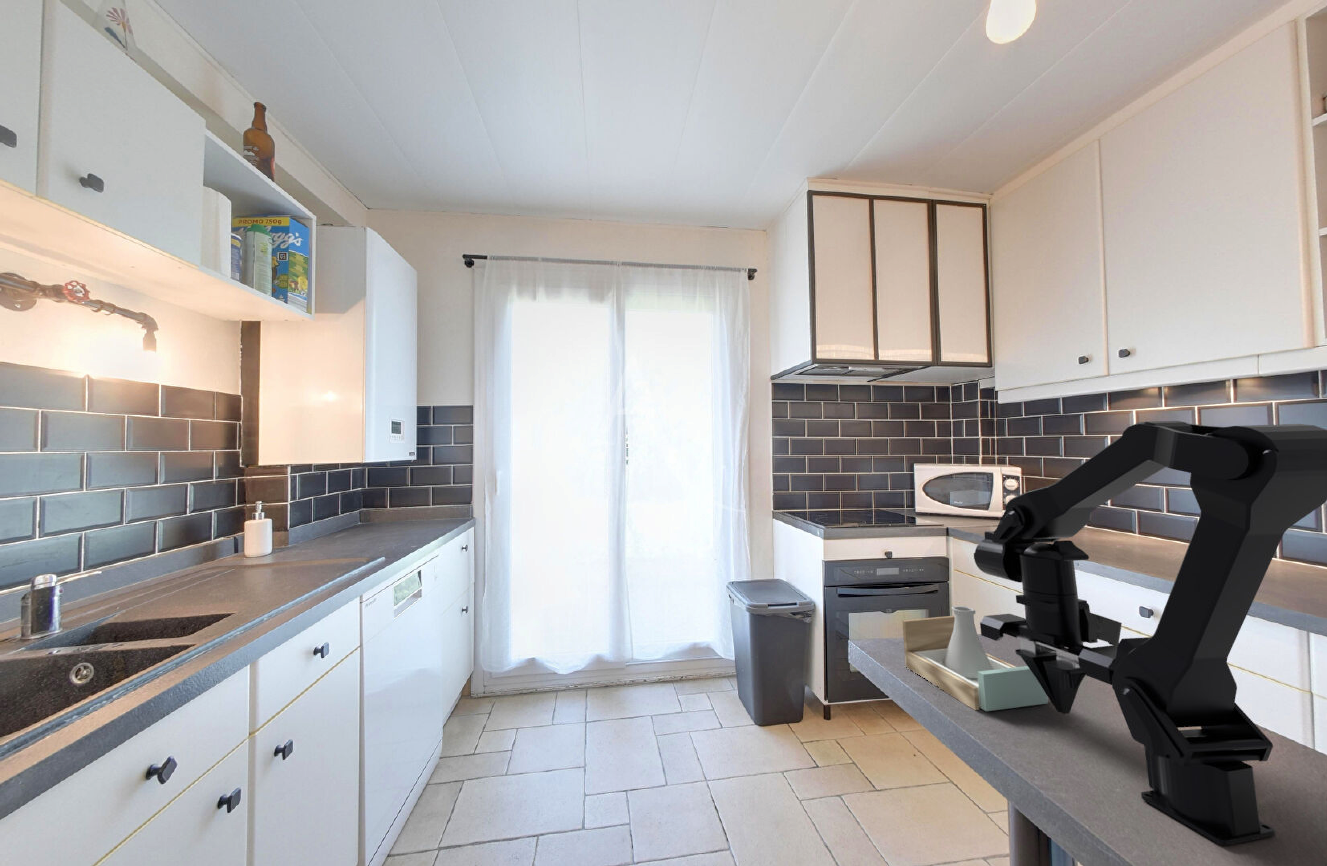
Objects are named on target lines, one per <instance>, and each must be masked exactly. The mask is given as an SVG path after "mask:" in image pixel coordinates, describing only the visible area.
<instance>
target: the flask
mask: <svg viewBox="0 0 1327 866" xmlns="http://www.w3.org/2000/svg"><path fill="white" fill-rule="evenodd" d="M951 610H952V611H953V614H954V615H953V616H955V621H954V629H953V633H952V636H951V639H950V642H949V645H948V648H947V651H946V653H945V656H944V659H943V662H942V664H943V666H944V667H946V668H948V669H950V670H952V671H954V672H955V673H957V674H959V675H961V676H963V677H965V678H974V679H978V673H977V672H978V671H987V670H993V668H992V666H991V664H990V662H989V659H988V657H987V655H986V651H985V649H984V647H983V645H982V641H981V640H980V638H979V635H978V632H977V628H976V625H975V618H974V617H975V614H976V610H975V608H972V607H969V606H966V605H965V606H964V605H963V606H962V605H955V606H951Z"/></svg>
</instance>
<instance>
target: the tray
mask: <svg viewBox="0 0 1327 866" xmlns="http://www.w3.org/2000/svg"><path fill="white" fill-rule="evenodd" d="M946 651H947V648H946V649H936V650H927V651H917V652H913V653H915V654H916V655H918V656H920V657H922V658H924V659H925V660H927V661H929V662H931V663H933V664H935V665H936V666H938V667H940V668H942V669H944V670H945V671H947V672H949V673H951V674H953V675H955V676H956V677H958V678H960V679H962V680H964V681H965V682H967V683H969V684H971V685H973V686H975V687H976V688H977V689H978V701H979V709H982V710H983V711H985V712H993V711H1000V710H1006V709H1015V708H1020V707H1021V708H1023V707H1030V706H1036V705H1037V706H1038V705H1044V704H1048V703H1049V700H1048V699H1049V698H1048V696H1047V695H1046V693H1045V691H1044V690H1043V688H1042V687H1041V685H1040V684H1039V682H1038V680H1037V679H1036V677H1035V676H1034V674H1033V673H1032V672H1031V670H1030V669H1029V667H1028V666H1027V665H1024V666H1022V665H1021V666H1016V667H1013V668H1012V667H1009V666H1007V665H1005V664H1003V663H1001V662H999V661H996V660H994V659H992V658H990V657H988V656H987V657H988V659H989V662H990V664H991V666H992V668H993V670H987V671H978V672H977V673H978V679H974V678H965V677H963V676H961V675H959V674H957V673H955V672H954V671H952V670H950V669H948V668H946V667H944V666H943V664H942V662H943V659H944V656H945V653H946Z"/></svg>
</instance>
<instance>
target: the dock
mask: <svg viewBox="0 0 1327 866" xmlns="http://www.w3.org/2000/svg"><path fill="white" fill-rule="evenodd" d="M954 621H955V616H954V615H949V616H936V617H926V618H915V619H905V620H904V619H903V620H902V621H901V623H902V632H903V633H902V635H903V649H904V662H905V663H904V664H905V668H906V667H908V668H909V669H910V670H912V671H914V672H915V673H916V674H915V673H914V674H915V675H917V674H919V675H920V676H922V677H923V678H926V679H927V680H928V681H930V682H932V683H933V684H934V685H933V684H932V685H933V686H935V685H936V686H938V687H939V688H938V687H937V688H938V689H940V690H941V689H942V690H941V691H943V690H944V691H943V692H944V693H946V694H948V695H949V694H950V696H951V697H952V698H954V699H957V700H958V701H960V702H961V703H963V704H964V705H966V706H968V707H969V708H970V709H973V710H974V711H980V707H979V701H978V689H977V688H976V687H975V686H973V685H971V684H969V683H967V682H965V681H964V680H962V679H960V678H958V677H956V676H955V675H953V674H951V673H949V672H947V671H945V670H944V669H942V668H940V667H938V666H936V665H935V664H933V663H931V662H929V661H927V660H925V659H924V658H922V657H920V656H918V655H916V654H915V653H913V652H917V651H927V650H936V649H946V648H948V645H949V642H950V639H951V636H952V633H953V629H954ZM985 653H986V652H985ZM986 655H987V656H988V657H990V658H992V659H994V660H996V661H999V662H1001V663H1003V664H1005V665H1007V666H1009V667H1012V668H1013V667H1017V666H1015V665H1013V664H1011V663H1009V662H1006V661H1005V660H1002V659H1000V658H998V657H995V656H993V655H991V654H988V653H986ZM910 670H909V671H910ZM912 671H911V672H912ZM920 676H919V677H920ZM922 677H921V678H922ZM923 678H922V679H923ZM928 681H927V682H928ZM930 682H929V683H930ZM936 686H935V687H936Z"/></svg>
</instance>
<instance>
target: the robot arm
mask: <svg viewBox="0 0 1327 866" xmlns="http://www.w3.org/2000/svg"><path fill="white" fill-rule="evenodd" d="M1165 468H1168V469H1171V470H1175V471H1180V472H1185V473H1188V474H1190V478H1189V485H1190V488H1191V490H1192V494H1193V496H1194V498H1195V500H1196V503H1197V505H1198V507H1199V510H1200V513H1199V516H1198V517H1199V518H1198V520H1197V523H1196V526H1195V528H1194V531H1193V533H1192V536H1191V538H1190V541H1189V543H1188V546H1187V549H1186V552H1185V553H1184V556H1183V559H1182V562H1181V564H1180V567H1179V570H1178V572H1177V574H1176V577H1175V579H1174V582H1173V585H1172V588H1171V589H1170V592H1169V595H1168V599H1167V601H1166V602H1165V606H1164V609H1163V611H1162V613H1161V615H1160V619H1159V620H1158V621H1159V622H1158V624H1157V627H1156V629H1155V631H1154V633H1153V635H1152V636H1151V637H1149V636H1148V637H1129V638H1121V631H1122V624H1123V623H1122V622H1120V621H1118V620H1114V619H1111V618H1108V617H1105V616H1102V615H1099V614H1096V613H1093V612H1091V611H1090V610H1091V609H1090V605H1089V603H1088V602H1087V600H1085V599H1081V598H1079V595H1078V594H1079V593H1078V586H1077V585H1078V584H1077V577H1076V569H1075V561H1077V562H1079V561H1088V560H1089V559H1090V556H1089V554H1088V553H1086V552H1085V551H1084V550H1083V549H1081V548H1079V547H1078V546H1076V544H1075V543H1074V542H1073V541H1072V540H1060V539H1070V538H1072V537H1075V535H1076V534H1078V533H1079V532H1080V531H1081V530H1082V529H1083V528H1085V527H1086V525H1088V524H1089V523H1090V522H1091V519H1092V518H1091V517H1092V514H1093V512H1094V511H1095V510H1096V509H1097V508H1098V507H1100V506H1102V505H1103V504H1105V503H1107V502H1108V501H1111V500H1112V499H1114V498H1115V497H1117V496H1119V495H1121V494H1122V493H1124V492H1126V491H1127V490H1130V489H1131V488H1132V487H1134V486H1136V485H1138V484H1139V483H1141V482H1142V481H1145V480H1146V479H1148V478H1149V477H1152V476H1153V475H1155V474H1157V473H1158V472H1160V471H1162V470H1163V469H1165ZM1326 502H1327V429H1326V428H1322V427H1320V426H1317V425H1314V424H1313V425H1311V424H1301V423H1290V424H1288V423H1287V424H1257V425H1256V424H1255V425H1251V424H1249V425H1232V426H1219V425H1217V426H1216V425H1215V426H1214V425H1203V424H1197V423H1187V422H1186V421H1181V420H1162V421H1161V420H1160V421H1159V420H1157V421H1156V420H1155V421H1154V420H1153V421H1139V422H1137V423H1135V424H1132V425H1130V426H1128V427H1127V428H1125V429H1124V431H1123V432H1122V435H1121V436H1120V437H1118V438H1117V439H1115V440H1114V441H1112V442H1111V443H1110V444H1108V445H1107V446H1105V447H1104V448H1102V450H1099V452H1097V453H1095V454H1094V455H1093V456H1091V457H1090V458H1088V459H1087V460H1086V461H1084V462H1083V463H1081V464H1080V465H1079V466H1077V467H1076V468H1074V469H1073V470H1071V471H1070V472H1068V474H1066V475H1064V476H1063V477H1062V478H1061V479H1059V480H1057V481H1056V482H1055V483H1051V484H1050V485H1047V486H1043V487H1039V488H1036V489H1032V490H1029V491H1026V492H1024V493H1022V494H1019V495H1017V496H1014V497H1012V498H1011V499H1010V500H1009V501H1007V503H1006V505H1005V506H1004V507H1005V510H1004V512H1003V515H1002V517H1001V518H1000V519H999V523H998V525H997V527H996V529H995V530H994V531H992V530H990V531H984V532H983V533H984V539H982V540H981V541H980V542H979V543H978V544H977V545H976V547H975V549H974V550H975V551H974V553H973V560H974V563H975V565H976V567H977V568H978V569H979V571H981V572H982V573H984V574H986V575H989V576H993V577H996V578H1000V579H1004V580H1008V581H1012V582H1016V583H1020V584H1021V583H1022V584H1021V585H1022V594H1017V595H1015V602H1016V604H1020V605H1023V606H1024V611H1025V618H1024V617H1022V616H1018V615H1015V614H1012V613H1002V614H1001V613H1000V614H991V615H984V616H983V618H982V619H981V621H980V622H979V625H980V635H981V636H983V637H985V638H987V639H990V640H992V641H995V642H997V641H998V642H999V641H1001V640H1002V638H1004V634H1005V635H1008V636H1010V637H1013V638H1016V640H1018V645H1019V649H1015V654H1016V655H1017V656H1019V657H1021V659H1022V660H1023V662H1024V663H1025V666H1028V667H1029V669H1030V670H1031V672H1032V673H1033V674H1034V676H1035V677H1036V679H1037V680H1038V682H1039V684H1040V685H1041V687H1042V688H1043V690H1044V691H1045V693H1046V695H1047V699H1049V701H1050V703H1051V704H1052V706H1053V707H1054V709H1055V710H1056V712H1058V713H1059V714H1062V715H1069V714H1070V713H1071V710H1072V707H1073V705H1074V702H1075V700H1076V696H1077V693H1078V691H1079V688H1080V686H1081V683H1082V682H1083V680H1084V678H1085V677H1090V678H1092V679H1094V680H1097V681H1099V682H1102V683H1105V684H1107V685H1111V687H1112V690H1113V691H1114V695H1115V697H1116V700H1117V702H1118V706H1119V708H1120V710H1121V712H1122V713H1121V714H1122V715H1123V718H1124V720H1125V722H1126V726H1127V729H1128V730H1129V732H1130V736H1131V738H1132V739H1133V740H1134V741H1136V742H1138V743H1140V744H1141V745H1142V746H1144V755H1145V765H1146V774H1147V782H1148V783H1147V784H1148V787H1149V788H1150V789H1152V790H1147V791H1142V792H1140V797H1141V799H1142V800H1143V801H1145V802H1147V803H1148V804H1150V805H1152V806H1153V807H1155V808H1157V810H1160V811H1162V812H1164V813H1165V814H1167V815H1169V816H1170V817H1171V818H1174V819H1176V820H1177V821H1179V822H1180V823H1182V824H1184V825H1185V826H1188V827H1189V828H1191V829H1193V830H1194V831H1196V832H1197V833H1199V834H1200V835H1203V836H1204V837H1206V838H1208V839H1210V840H1211V841H1213V842H1215V843H1216V844H1219V845H1222V846H1229V845H1230V846H1231V845H1234V844H1239V843H1246V842H1250V841H1254V840H1259V839H1263V838H1268V837H1269V838H1270V837H1274V836H1276V831H1275V828H1273V827H1272V826H1270V825H1269V824H1267V823H1265V822H1263V821H1261V820H1260V814H1259V807H1258V799H1257V791H1256V784H1255V783H1256V782H1255V775H1254V767H1253V766H1252V765H1250V764H1248V763H1245V762H1254V761H1258V762H1267V761H1268V759H1269V757H1270V755H1271V752H1272V750H1273V748H1274V745H1273V742H1272V741H1271V740H1270V739H1269V737H1267V736H1266V734H1265V733H1264V732H1262V730H1261V729H1260V728H1259V727H1258V726H1257V725H1256V724H1255V722H1254V721H1253V720H1252V719H1251V718H1250V717H1249V716H1248V715H1247V714H1246V712H1244V710H1243V709H1242V708H1241V707H1240V706H1239V705H1238V704H1237V703H1236V696H1237V692H1238V686H1237V682H1236V680H1235V678H1234V677H1235V676H1234V675H1233V672H1232V671H1231V668H1230V666H1229V664H1228V658H1229V655H1230V653H1231V650H1232V649H1233V646H1234V644H1235V641H1236V640H1237V637H1238V636H1239V633H1240V631H1241V628H1242V626H1243V624H1244V623H1245V622H1244V621H1245V619H1246V618H1247V616H1248V613H1249V611H1250V609H1251V606H1252V604H1253V602H1254V600H1255V597H1256V596H1257V593H1258V591H1259V589H1260V587H1261V584H1262V582H1263V580H1264V579H1265V576H1266V573H1267V571H1268V569H1269V567H1270V565H1271V562H1272V561H1273V558H1274V556H1275V554H1276V551H1277V549H1278V547H1279V545H1280V542H1281V540H1282V538H1283V536H1284V534H1285V533H1286V531H1288V530H1289V528H1291V527H1292V526H1294V525H1295V524H1296V523H1298V522H1299V521H1301V520H1302V519H1304V518H1305V517H1307V516H1308V515H1310V514H1311V513H1313V512H1314V511H1315V510H1317V509H1318V508H1320V507H1321V506H1324V504H1325V503H1326ZM1120 638H1121V640H1120ZM1099 640H1100V641H1103V642H1105V643H1108V644H1109V645H1104V646H1097V647H1095V646H1094V647H1091V646H1090V647H1089V646H1086V645H1085V644H1084V643H1087V644H1088V643H1089V644H1094V643H1098V641H1099ZM1196 727H1200V728H1196ZM1179 728H1190V729H1179ZM1191 728H1195V729H1191Z"/></svg>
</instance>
